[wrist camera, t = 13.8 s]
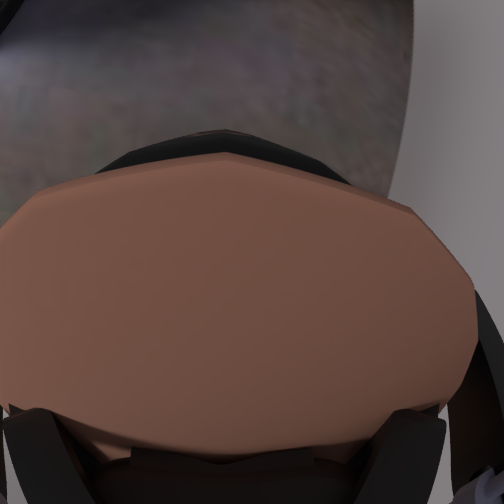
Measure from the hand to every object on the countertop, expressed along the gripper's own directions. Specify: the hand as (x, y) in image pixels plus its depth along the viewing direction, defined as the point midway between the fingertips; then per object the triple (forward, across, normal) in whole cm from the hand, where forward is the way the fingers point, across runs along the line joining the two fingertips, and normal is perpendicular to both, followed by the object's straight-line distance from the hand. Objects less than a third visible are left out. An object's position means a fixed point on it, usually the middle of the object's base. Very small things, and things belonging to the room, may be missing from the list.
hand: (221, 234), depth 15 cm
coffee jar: (+6, 0, 0) cm, 6 cm away
